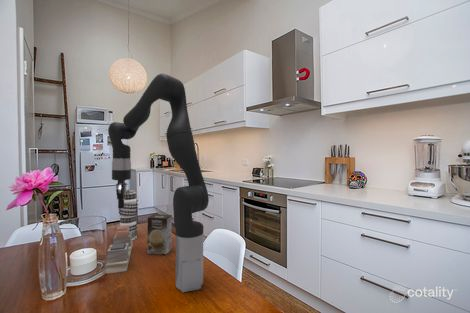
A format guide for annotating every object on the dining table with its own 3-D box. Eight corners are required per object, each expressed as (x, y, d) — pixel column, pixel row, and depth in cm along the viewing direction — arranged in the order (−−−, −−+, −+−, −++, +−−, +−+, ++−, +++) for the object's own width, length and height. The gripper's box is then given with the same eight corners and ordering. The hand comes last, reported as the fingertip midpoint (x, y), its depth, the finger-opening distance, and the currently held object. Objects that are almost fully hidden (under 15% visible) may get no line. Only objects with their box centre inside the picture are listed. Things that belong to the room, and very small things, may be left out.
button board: (126, 270, 87) (126, 250, 87) (105, 273, 84) (105, 253, 84) (132, 246, 109) (132, 230, 109) (115, 248, 107) (115, 232, 107)
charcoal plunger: (123, 259, 89) (123, 247, 89) (111, 261, 87) (111, 248, 87) (125, 254, 93) (125, 243, 93) (113, 256, 92) (113, 244, 92)
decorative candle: (119, 235, 123) (119, 188, 122) (138, 234, 125) (138, 188, 125) (116, 242, 114) (116, 191, 114) (136, 240, 117) (136, 191, 116)
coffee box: (146, 254, 101) (146, 217, 101) (153, 248, 108) (153, 213, 107) (166, 255, 100) (166, 218, 100) (172, 249, 107) (172, 214, 106)
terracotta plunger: (127, 238, 102) (127, 228, 102) (116, 239, 101) (116, 229, 100) (128, 235, 106) (128, 225, 106) (118, 236, 105) (118, 226, 105)
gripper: (129, 170, 96) (129, 211, 97) (132, 167, 109) (131, 203, 109) (109, 170, 94) (109, 212, 94) (114, 167, 106) (113, 204, 107)
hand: (121, 207), depth 102 cm, fingers closed
